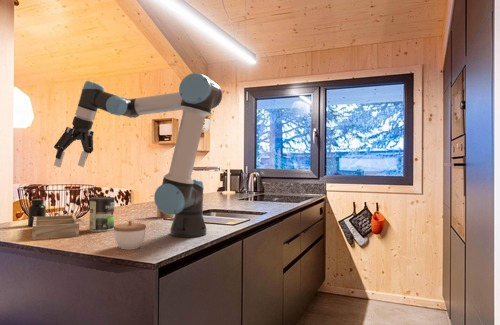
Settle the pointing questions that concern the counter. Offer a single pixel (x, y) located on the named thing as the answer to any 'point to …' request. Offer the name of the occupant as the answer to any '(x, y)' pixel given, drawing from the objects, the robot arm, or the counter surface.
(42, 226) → the caddy
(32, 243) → the counter surface
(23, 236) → the counter surface
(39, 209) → the supplement bottle
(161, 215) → the candy box
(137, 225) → the lidded jar
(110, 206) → the coffee can
